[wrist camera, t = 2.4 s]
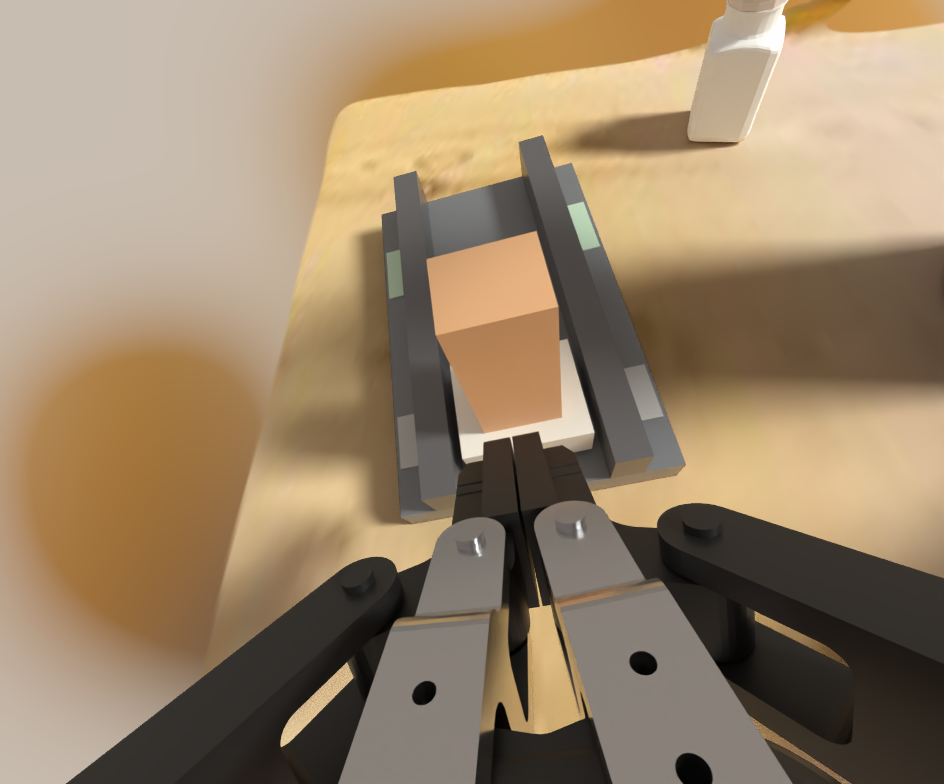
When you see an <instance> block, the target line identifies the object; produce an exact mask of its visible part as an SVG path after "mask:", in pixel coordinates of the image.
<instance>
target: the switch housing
mask: <svg viewBox="0 0 944 784" xmlns="http://www.w3.org/2000/svg"><path fill="white" fill-rule="evenodd" d="M519 151H520V160H521V170H522V177H518V178H515V179H511V180H507V181H504V182H500V183H496V184H493V185H489V186H485V187H482V188H478V189H474V190H471V191H467V192H463V193H460V194H456V195H452V196H449V197H445V198H441V199H438V200H434V201H430V202H427V200H426V197H425V194H424V192H423V189H422V186H421V183H420V180H419V177H418V175H417V172H416V171H414V172H411V173H407V174H403V175H400V176H396V177H394V188H395V200H396V211H394V212H390V213H386V214H383V215H382V229H383V245H384V261H385V276H386V292H387V308H388V324H389V340H390V356H391V371H392V387H393V403H394V419H395V435H396V451H397V466H398V482H399V498H400V514H401V518H402V519H404V520H406V521H408V522H410V523H412V524H416V523H422V522H427V521H432V520H438V519H443V518H449V517H453V513H454V505H455V498H456V490H457V483H458V475H459V473H460V472H461V471H462V470H463V468H464V467H465V466H466V463H465V462H464V461H463V459H462V452H461V445H460V438H459V430H458V423H457V415H456V408H455V401H454V393H453V386H452V378H451V371H450V363H449V361H448V359H447V357H446V355H445V353H444V351H443V349H442V347H441V345H440V343H439V341H438V339H437V337H436V334H435V326H434V318H433V310H432V301H431V293H430V285H429V277H428V269H427V260H426V259H429V258H433V257H437V256H441V255H445V254H449V253H453V252H456V251H460V250H464V249H468V248H472V247H476V246H480V245H484V244H488V243H492V242H495V241H499V240H503V239H507V238H511V237H515V236H519V235H523V234H527V233H530V232H534V231H537V235H538V238H539V241H540V245H541V248H542V252H543V255H544V259H545V262H546V266H547V269H548V273H549V276H550V279H551V283H552V286H553V290H554V293H555V297H556V300H557V304H558V311H559V340H565V339H568V343H569V346H570V350H571V353H572V356H573V360H574V363H575V367H576V370H577V374H578V377H579V381H580V384H581V388H582V391H583V395H584V398H585V401H586V405H587V408H588V412H589V415H590V419H591V422H592V426H593V429H594V439H593V445H592V449H588V450H583V451H578V452H574V454H575V456H576V458H577V461H578V463H579V465H580V468H581V470H582V473H583V475H584V477H585V480H586V482H587V484H588V487H589V489H590V491H594V490H600V489H605V488H611V487H616V486H622V485H627V484H632V483H638V482H643V481H649V480H654V479H659V478H665V477H670V476H676V475H677V474H678V473H679V472H680V471H681V469H682V468H683V467H684V466H685V465H686V464H685V461H684V458H683V456H682V453H681V450H680V448H679V445H678V442H677V440H676V437H675V435H674V432H673V429H672V427H671V424H670V421H669V419H668V416H667V413H666V411H665V408H664V405H663V403H662V400H661V398H660V395H659V392H658V390H657V387H656V384H655V382H654V379H653V376H652V374H651V371H650V369H649V366H648V363H647V361H646V358H645V355H644V353H643V350H642V347H641V345H640V342H639V340H638V337H637V334H636V332H635V329H634V326H633V324H632V321H631V318H630V316H629V313H628V310H627V308H626V305H625V303H624V300H623V297H622V295H621V292H620V289H619V287H618V284H617V281H616V279H615V276H614V274H613V271H612V268H611V266H610V263H609V260H608V258H607V255H606V252H605V250H604V247H603V245H602V242H601V239H600V237H599V234H598V231H597V229H596V226H595V223H594V221H593V218H592V216H591V213H590V210H589V208H588V205H587V202H586V200H585V197H584V194H583V192H582V189H581V186H580V184H579V181H578V179H577V176H576V173H575V171H574V168H573V165H572V163H570V164H566V165H562V166H559V167H555V168H554V166H553V163H552V160H551V158H550V155H549V152H548V149H547V146H546V143H545V140H544V137H543V135H542V136H538V137H535V138H531V139H528V140H524V141H521V142H519Z"/></svg>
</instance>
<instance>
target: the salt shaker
mask: <svg viewBox="0 0 944 784" xmlns="http://www.w3.org/2000/svg"><path fill="white" fill-rule="evenodd" d="M787 1H788V0H727V1H726V2H727V7H726V11H725V15H723V16H722V17H720V18H718V19H716V20H714V21H713V23H712V27H711V31H710V35H709V39H708V43H707V47H706V51H705V55H704V59H703V63H702V67H701V71H700V75H699V79H698V83H697V87H696V91H695V95H694V99H693V103H692V107H691V112H690V118H689V124H688V129H687V134H688V138H689V140H692V141H699V142H740V141H743V140H744V139H745V137H746V136H747V135H748V134H749V132H750V130H751V127H752V125H753V122H754V119H755V117H756V114H757V112H758V109H759V106H760V104H761V101H762V99H763V96H764V94H765V91H766V88H767V86H768V83H769V81H770V78H771V76H772V73H773V70H774V68H775V65H776V63H777V60H778V58H779V55H780V52H781V50H782V47H783V42H784V35H785V16H783V15H781V14H782V11H783V8H784V5H785V4H786V3H787Z"/></svg>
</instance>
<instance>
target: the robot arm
mask: <svg viewBox="0 0 944 784" xmlns="http://www.w3.org/2000/svg"><path fill="white" fill-rule="evenodd" d="M512 440H513V447H512V443H511V439H510V437H507V438H502V439H497V440H492V441H487V442H484V443H483V460H482V461H477V462H472V463H467V465H466V466H465V467H464V468H463V470H462V471H461V472H460V473H459V475H458V483H457V490H456V498H455V505H454V513H453V520H452V526H450V527H449V528H447V529H446V530H445V531H444V532H443V533H442V534H441V535H440V536H439V538H438V539H437V542H436V545H435V548H434V552H433V555H432V558H430V559H429V560H427V561H425V562H423V563H421V564H419V565H416V566H414V567H411V568H409V569H406V570H404V571H401V572H399V573H398V572H397V569H396V567H395V564H394V563H393V562H392V561H391V560H389V559H387V558H384V557H370V558H365V559H361V560H358V561H356V562H354V563H352V564H350V565H348V566H346V567H344V568H343V569H341V570H340V571H339V572H337V573H336V574H335V575H334V576H332V577H331V578H330V579H328V580H327V581H326V582H325V583H323V584H322V585H321V586H319V587H318V588H317V589H316V590H314V591H313V592H312V593H310V594H309V595H308V596H307V597H305V598H304V599H303V600H301V601H300V602H299V603H298V604H296V605H295V606H294V607H292V608H291V609H290V610H289V611H287V612H286V613H285V614H283V615H282V616H281V617H280V618H278V619H277V620H276V621H274V622H273V623H272V624H271V625H269V626H268V627H267V628H265V629H264V630H263V631H262V632H260V633H259V634H258V635H256V636H255V637H254V638H253V639H251V640H250V641H249V642H247V643H246V644H245V645H244V646H242V647H241V648H240V649H238V650H237V651H236V652H235V653H233V654H232V655H231V656H230V657H228V658H227V659H226V660H224V661H223V662H222V663H221V664H219V665H218V666H217V667H215V668H214V669H213V670H212V671H210V672H209V673H208V674H206V675H205V676H204V677H203V678H201V679H200V680H199V681H197V682H196V683H195V684H194V685H192V686H191V687H190V688H188V689H187V690H186V691H185V692H183V693H182V694H181V695H179V696H178V697H177V698H176V699H174V700H173V701H172V702H170V703H169V704H168V705H167V706H165V707H164V708H163V709H161V710H160V711H159V712H158V713H156V714H155V715H154V716H153V717H151V718H150V719H149V720H148V721H146V722H145V723H143V724H142V725H141V726H140V727H138V728H137V729H136V730H135V731H134V732H132V733H131V734H129V735H128V736H127V737H126V738H124V739H123V740H122V741H120V742H119V743H118V744H117V745H115V746H114V747H113V748H111V749H110V750H109V751H107V752H106V753H105V754H104V755H102V756H101V757H100V758H99V759H97V760H96V761H95V762H93V763H92V764H91V765H90V766H88V767H87V768H86V769H84V770H83V771H82V772H81V773H79V774H78V775H77V776H75V777H74V778H73V779H72V780H70V781H69V782H68V783H66V784H841V783H840V782H838V781H837V780H836V779H834V778H833V777H831V776H830V775H828V774H827V773H826V772H824V771H823V770H821V769H820V768H818V767H817V766H815V765H814V764H812V763H810V762H808V761H807V760H805V759H803V758H802V757H800V756H798V755H796V754H795V753H793V752H791V751H790V750H788V749H785V748H783V747H781V746H779V745H777V744H775V743H773V742H771V741H769V740H767V739H764V738H763V737H762V735H761V734H760V732H759V730H758V729H757V727H756V726H755V724H754V723H753V721H752V720H751V718H750V716H751V717H752V718H754V719H755V720H757V721H758V722H760V723H761V724H763V725H764V726H766V727H767V728H769V729H770V730H772V731H773V732H775V733H776V734H778V735H779V736H781V737H782V738H784V739H785V740H787V741H788V742H790V743H791V744H793V745H794V746H796V747H798V748H799V749H801V750H802V751H804V752H805V753H807V754H808V755H810V756H811V757H813V758H814V759H816V760H817V761H819V762H820V763H822V764H823V765H825V766H826V767H828V768H829V769H831V770H832V771H834V772H835V773H837V774H838V775H840V776H841V777H843V778H844V779H846V780H847V781H849V782H850V783H852V784H944V579H943V578H940V577H937V576H934V575H931V574H928V573H925V572H922V571H919V570H916V569H912V568H909V567H906V566H903V565H900V564H897V563H894V562H891V561H888V560H885V559H881V558H878V557H875V556H872V555H869V554H866V553H863V552H860V551H857V550H854V549H850V548H847V547H844V546H841V545H838V544H835V543H832V542H829V541H826V540H823V539H819V538H816V537H813V536H810V535H807V534H804V533H801V532H798V531H795V530H791V529H788V528H785V527H782V526H779V525H776V524H773V523H770V522H767V521H764V520H760V519H757V518H754V517H751V516H748V515H745V514H742V513H739V512H736V511H733V510H729V509H726V508H723V507H720V506H716V505H711V504H702V503H691V504H683V505H679V506H676V507H673V508H671V509H669V510H667V511H665V512H664V513H663V514H662V515H661V516H660V518H659V519H658V522H657V528H646V527H631V526H626V525H622V524H618V523H616V522H613V521H611V520H610V519H609V517H608V515H607V514H606V512H605V511H604V510H603V509H602V508H600V507H599V506H597V505H596V503H595V501H594V499H593V496H592V494H591V492H590V489H589V487H588V484H587V482H586V480H585V477H584V475H583V473H582V470H581V468H580V465H579V463H578V461H577V458H576V456H575V454H574V452H572V451H571V450H569V449H568V448H566V447H564V446H563V445H560V446H555V447H550V448H544V449H543V445H542V442H541V438H540V435H539V431H537V432H532V433H527V434H522V435H517V436H512ZM513 448H514V452H513ZM534 569H535V570H534ZM535 573H536V577H535ZM536 578H537V582H538V587H539V591H540V595H541V600H542V604H543V606H546V605H551V608H552V612H553V617H554V621H555V626H556V631H557V635H558V640H559V644H560V647H561V651H562V655H563V658H564V662H565V666H566V670H567V673H568V677H569V681H570V684H571V688H572V692H573V695H574V699H575V703H576V707H577V710H578V714H579V718H580V721H577V722H575V723H573V724H570V725H568V726H565V727H563V728H561V729H558V730H556V731H554V732H551V733H548V734H534V703H533V662H532V640H531V636H530V632H529V629H530V616H529V608H534V607H540V605H539V598H538V591H537V584H536ZM754 611H756V612H758V613H760V614H762V615H764V616H766V617H768V618H771V619H773V620H775V621H777V622H779V623H781V624H783V625H785V626H787V627H789V628H791V629H793V630H796V631H798V632H800V633H802V634H804V635H806V636H808V637H810V638H812V639H814V640H816V641H818V642H820V643H822V644H824V645H826V646H827V647H829V648H830V649H832V650H833V651H834V652H836V653H837V654H838V655H839V656H840V657H841V658H842V659H843V660H844V661H845V662H846V663H847V664H848V666H849V667H850V668H849V667H847V666H845V665H843V664H841V663H839V662H837V661H835V660H833V659H831V658H829V657H827V656H825V655H823V654H821V653H819V652H817V651H815V650H813V649H811V648H809V647H807V646H805V645H803V644H801V643H799V642H797V641H795V640H793V639H791V638H789V637H787V636H785V635H783V634H781V633H779V632H777V631H775V630H773V629H771V628H769V627H767V626H765V625H763V624H761V623H759V622H757V621H755V613H754ZM346 662H348V665H349V667H350V670H351V672H352V674H353V677H354V678H353V679H352V680H351V681H350V682H349V683H348V684H347V685H346V686H345V687H344V688H343V689H342V690H341V691H340V692H339V693H338V694H337V695H336V696H335V697H334V698H333V699H332V700H331V701H330V702H329V703H328V704H327V705H326V706H325V707H324V708H323V709H322V710H321V711H320V712H319V713H318V714H317V715H316V716H315V717H314V718H313V720H312V721H311V722H310V723H309V724H308V725H307V726H306V727H305V728H304V729H303V730H302V731H301V732H300V733H299V734H298V735H297V736H296V737H295V738H294V739H293V740H292V741H290V742H289V743H288V744H286V745H285V746H283V747H281V746H280V741H281V735H282V732H283V729H284V727H285V725H286V724H287V722H288V720H289V719H290V718H291V716H292V715H293V714H294V713H295V712H296V711H297V710H298V709H299V708H300V707H301V706H302V705H303V704H304V703H305V702H306V701H307V700H308V699H309V698H310V697H311V696H312V695H313V694H314V693H315V692H316V691H317V690H318V689H319V688H321V687H322V686H323V685H324V684H325V683H326V682H327V681H328V680H329V679H330V678H331V677H332V676H333V675H334V674H335V673H336V672H337V671H338V670H339V669H340V668H341V667H342V666H343V665H344V664H345V663H346Z"/></svg>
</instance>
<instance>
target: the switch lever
mask: <svg viewBox="0 0 944 784" xmlns="http://www.w3.org/2000/svg"><path fill="white" fill-rule="evenodd" d="M426 260H427V269H428V277H429V285H430V293H431V301H432V310H433V318H434V326H435V334H436V337H437V339H438V341H439V343H440V345H441V347H442V349H443V351H444V353H445V355H446V357H447V359H448V361H449V363H450V371H451V378H452V386H453V393H454V401H455V408H456V415H457V423H458V430H459V438H460V445H461V452H462V459H463V461H464V462H465V463H466V465H467V463H472V462H477V461H482V460H483V443H484V442H487V441H492V440H497V439H502V438H507V437H510V439H511V443H512V447H513V440H512V436H517V435H522V434H527V433H532V432H537V431H539V435H540V438H541V442H542V445H543V449H544V448H550V447H555V446H560V445H563V446H564V447H566V448H568V449H569V450H571V451H572V452H578V451H583V450H588V449H592V445H593V439H594V429H593V426H592V422H591V419H590V415H589V412H588V408H587V405H586V401H585V398H584V395H583V391H582V388H581V384H580V381H579V377H578V374H577V370H576V367H575V363H574V360H573V356H572V353H571V350H570V346H569V343H568V339H565V340H559V311H558V304H557V300H556V297H555V293H554V290H553V286H552V283H551V279H550V276H549V273H548V269H547V266H546V262H545V259H544V255H543V252H542V248H541V245H540V241H539V238H538V235H537V231H534V232H530V233H527V234H523V235H519V236H515V237H511V238H507V239H503V240H499V241H495V242H492V243H488V244H484V245H480V246H476V247H472V248H468V249H464V250H460V251H456V252H453V253H449V254H445V255H441V256H437V257H433V258H429V259H426ZM513 452H514V448H513Z"/></svg>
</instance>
